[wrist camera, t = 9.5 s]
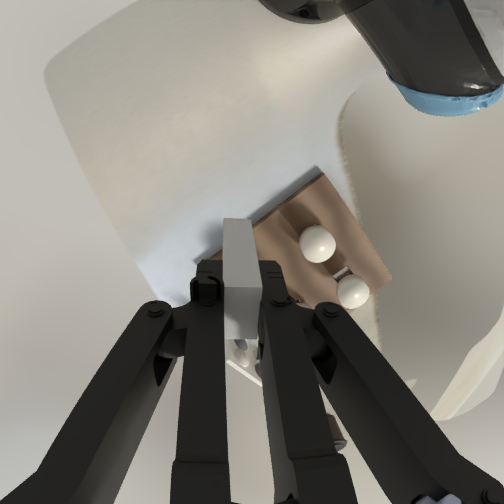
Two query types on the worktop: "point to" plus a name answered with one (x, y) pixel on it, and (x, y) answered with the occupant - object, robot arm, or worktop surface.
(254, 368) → the card
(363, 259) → the board
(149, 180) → the worktop surface
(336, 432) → the coffee cup
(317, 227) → the button
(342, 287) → the button
